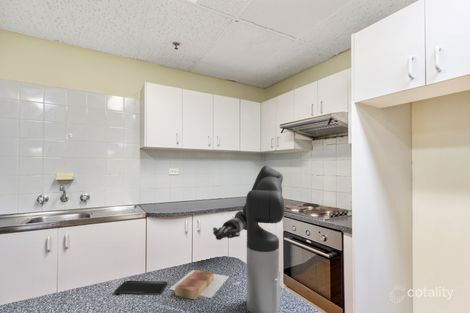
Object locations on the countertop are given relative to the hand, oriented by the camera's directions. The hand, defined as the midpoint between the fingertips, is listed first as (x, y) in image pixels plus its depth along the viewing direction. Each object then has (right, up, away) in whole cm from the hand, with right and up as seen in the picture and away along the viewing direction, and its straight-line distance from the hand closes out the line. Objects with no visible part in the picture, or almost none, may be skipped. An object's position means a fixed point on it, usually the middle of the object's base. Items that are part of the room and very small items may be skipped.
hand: (218, 237), depth 97 cm
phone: (-23, -12, -18) cm, 32 cm away
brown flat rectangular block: (-4, -10, -11) cm, 15 cm away
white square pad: (-5, -11, -14) cm, 19 cm away
